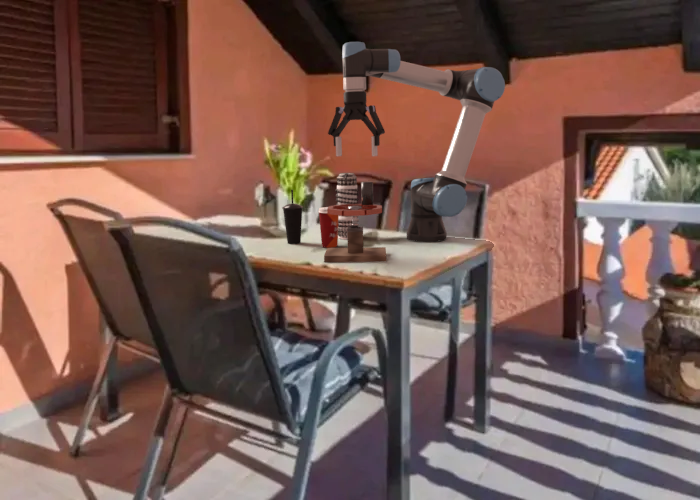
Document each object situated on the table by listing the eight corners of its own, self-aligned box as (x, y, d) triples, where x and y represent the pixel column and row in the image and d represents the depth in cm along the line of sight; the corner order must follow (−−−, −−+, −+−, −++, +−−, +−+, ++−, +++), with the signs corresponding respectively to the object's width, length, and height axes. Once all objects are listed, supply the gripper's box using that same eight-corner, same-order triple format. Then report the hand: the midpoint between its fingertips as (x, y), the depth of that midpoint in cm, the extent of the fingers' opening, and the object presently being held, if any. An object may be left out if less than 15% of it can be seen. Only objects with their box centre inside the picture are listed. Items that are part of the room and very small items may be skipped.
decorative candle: (343, 240, 255) (342, 174, 250) (332, 237, 263) (330, 173, 258) (364, 238, 259) (363, 173, 254) (352, 235, 267) (351, 172, 262)
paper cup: (337, 248, 239) (336, 209, 236) (316, 248, 240) (315, 209, 238) (342, 244, 246) (341, 206, 244) (322, 244, 248) (321, 206, 245)
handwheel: (381, 225, 229) (381, 181, 226) (382, 233, 212) (381, 186, 209) (330, 225, 230) (329, 182, 227) (326, 234, 212) (325, 187, 210)
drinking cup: (285, 241, 256) (283, 188, 252) (305, 241, 255) (303, 188, 252) (282, 244, 248) (280, 191, 245) (303, 244, 248) (301, 190, 244)
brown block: (385, 253, 229) (385, 224, 227) (386, 261, 215) (386, 230, 213) (327, 253, 230) (326, 224, 228) (324, 262, 216) (323, 231, 214)
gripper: (394, 89, 218) (395, 155, 222) (328, 93, 230) (330, 155, 234) (383, 89, 212) (385, 156, 216) (316, 92, 224) (319, 156, 228)
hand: (356, 156), depth 225 cm, fingers open, 13 cm apart
